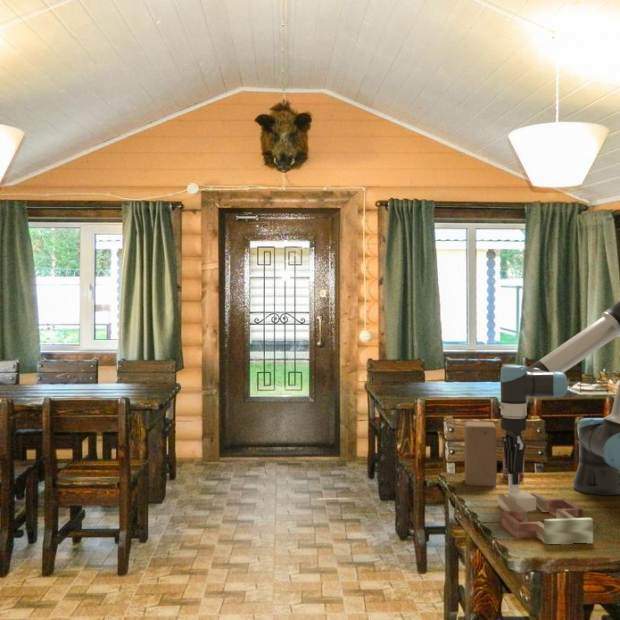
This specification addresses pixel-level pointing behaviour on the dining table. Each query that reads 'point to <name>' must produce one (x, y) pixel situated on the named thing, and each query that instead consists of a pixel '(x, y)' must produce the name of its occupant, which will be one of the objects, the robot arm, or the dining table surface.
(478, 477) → the wooden block
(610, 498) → the dining table surface
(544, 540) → the trap lane box
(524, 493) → the cream block
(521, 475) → the soda can
